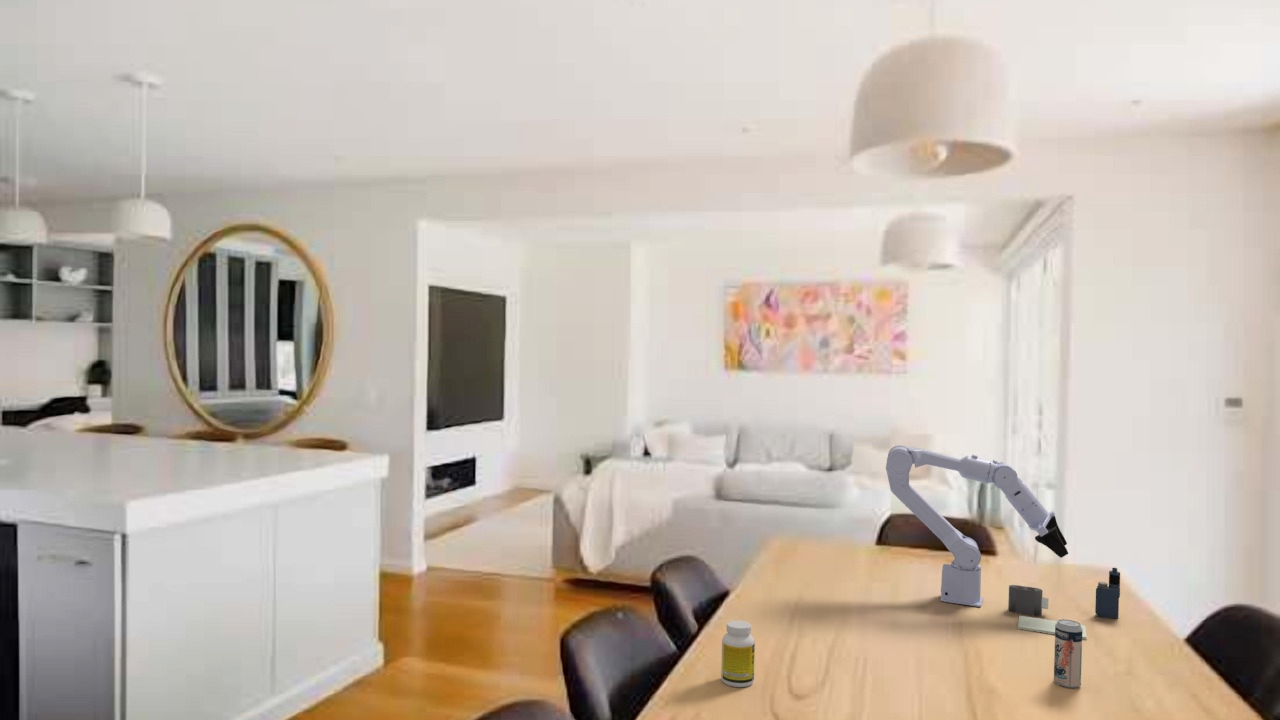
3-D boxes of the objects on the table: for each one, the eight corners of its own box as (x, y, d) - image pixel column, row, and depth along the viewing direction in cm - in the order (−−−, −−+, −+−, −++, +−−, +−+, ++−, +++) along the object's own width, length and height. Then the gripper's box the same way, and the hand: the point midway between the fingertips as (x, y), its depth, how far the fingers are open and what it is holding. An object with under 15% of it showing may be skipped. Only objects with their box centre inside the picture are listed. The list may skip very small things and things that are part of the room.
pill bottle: (758, 687, 155) (760, 628, 155) (727, 689, 154) (728, 630, 153) (747, 674, 161) (748, 618, 161) (717, 676, 160) (718, 619, 159)
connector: (1007, 611, 204) (1008, 587, 204) (1008, 608, 207) (1009, 584, 207) (1047, 617, 200) (1048, 593, 200) (1048, 613, 203) (1048, 589, 203)
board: (1017, 628, 191) (1017, 626, 191) (1019, 617, 199) (1019, 615, 199) (1086, 639, 185) (1086, 637, 185) (1085, 628, 193) (1085, 625, 193)
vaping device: (1120, 619, 200) (1122, 569, 200) (1097, 617, 201) (1098, 568, 201) (1117, 615, 202) (1118, 567, 202) (1093, 614, 203) (1095, 565, 203)
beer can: (1048, 679, 162) (1050, 618, 161) (1071, 679, 162) (1073, 618, 162) (1062, 689, 157) (1064, 626, 157) (1086, 689, 157) (1088, 626, 157)
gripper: (1041, 504, 199) (1080, 551, 196) (1041, 489, 212) (1077, 533, 209) (1016, 519, 202) (1053, 566, 199) (1017, 504, 215) (1052, 547, 212)
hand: (1064, 550), depth 204 cm, fingers open, 7 cm apart
